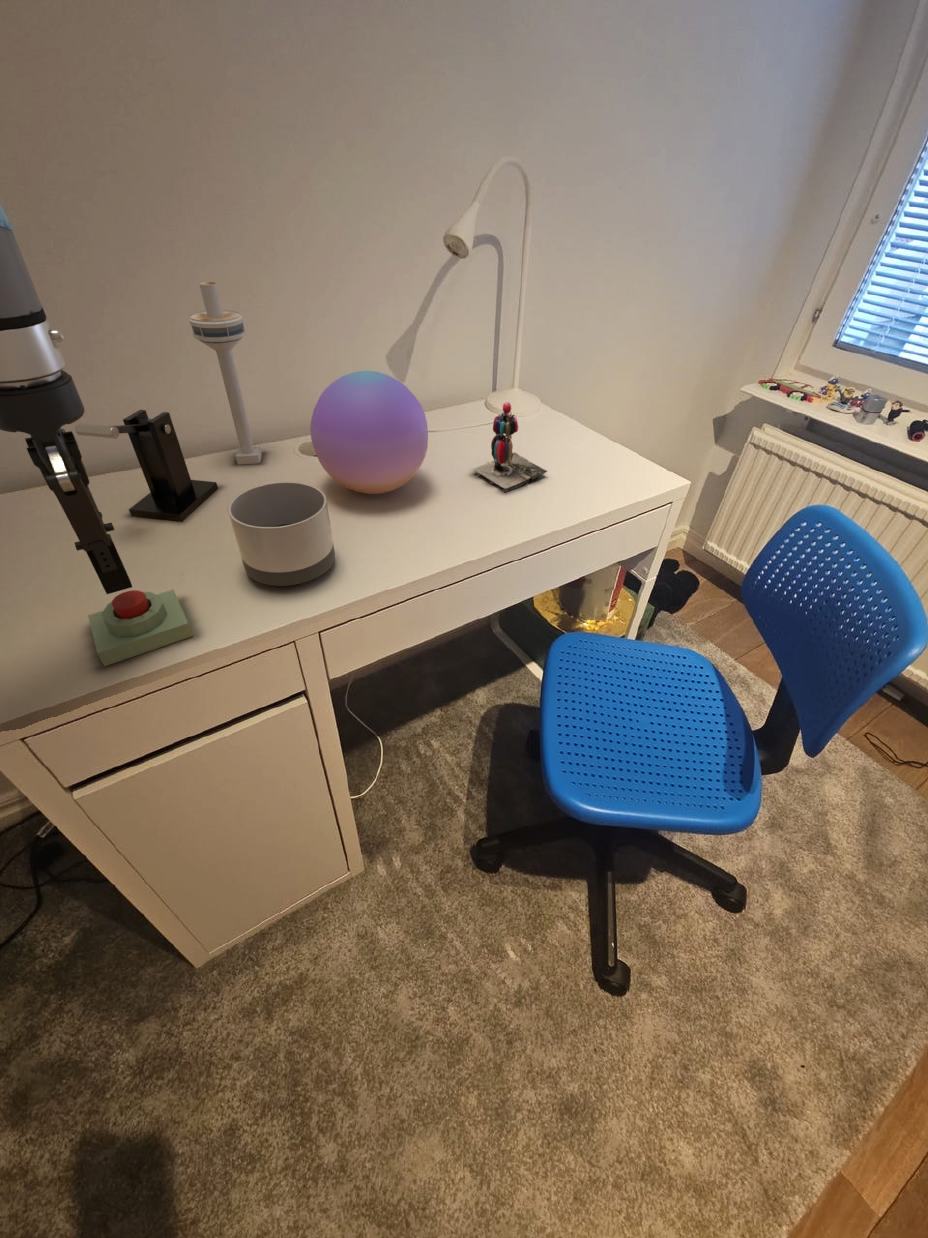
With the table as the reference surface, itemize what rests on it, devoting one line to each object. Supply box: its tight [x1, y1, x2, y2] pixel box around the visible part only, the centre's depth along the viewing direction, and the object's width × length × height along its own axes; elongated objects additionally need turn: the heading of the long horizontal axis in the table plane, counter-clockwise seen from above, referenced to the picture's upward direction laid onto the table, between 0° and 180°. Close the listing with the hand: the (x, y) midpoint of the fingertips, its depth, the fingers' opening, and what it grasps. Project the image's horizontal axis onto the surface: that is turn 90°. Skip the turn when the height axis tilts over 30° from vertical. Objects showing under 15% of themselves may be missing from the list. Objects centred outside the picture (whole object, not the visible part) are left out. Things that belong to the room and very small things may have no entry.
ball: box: [309, 370, 429, 495], centre depth 93 cm, size 20×20×20 cm
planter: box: [227, 481, 336, 587], centre depth 76 cm, size 13×13×10 cm
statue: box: [473, 401, 548, 494], centre depth 100 cm, size 11×9×15 cm
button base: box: [87, 589, 194, 667], centre depth 67 cm, size 10×8×4 cm
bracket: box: [122, 409, 219, 522], centre depth 88 cm, size 12×9×15 cm
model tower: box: [188, 281, 263, 465], centre depth 97 cm, size 8×8×30 cm
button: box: [111, 589, 150, 619], centre depth 65 cm, size 4×4×2 cm
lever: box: [74, 417, 152, 439], centre depth 80 cm, size 13×6×2 cm, turn 171°
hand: (118, 587), depth 63 cm, fingers closed
